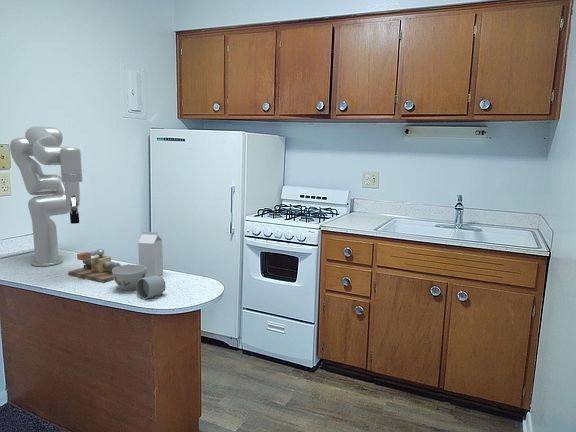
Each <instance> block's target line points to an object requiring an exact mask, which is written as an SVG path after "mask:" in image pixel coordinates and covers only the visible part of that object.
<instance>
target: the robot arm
mask: <svg viewBox="0 0 576 432" xmlns="http://www.w3.org/2000/svg"><path fill="white" fill-rule="evenodd" d="M24 133H25V134H24V137H16V138H14V139H12V140H11V141H10V143H9V151H10V156H11V158H12V160H13V162H14V164H15V165H16V166H17V168H18V169H19V171H20V175H21V176H22V180H23V184H24V186H25V189H26V191H27V193H28V194H29V195H30V196H33V197H31V198H30V199H29V200H28V203H27V204H28V205H27V206H28V210H29V214H30V219H31V226H32V235H33V236H32V237H33V247H34V254H33V253H32V257H33V258H34V260H33V261H31V266H34V267H50V266H56V265H59V264H61V263H62V262H63V258H62V257H59V246H58V245H59V244H58V232H57V231H58V230H57V224H56V223H55V221H54V220H53V219H51V217H53V216H59V215H60V216H62V215H66V214H69V218H70V219H69V220H70V224H72V225H73V224H80V214H79V213H80V212H79V207H80V202H81V201H80V200H81V198H80V197H81V195H80V194H81V191H80V189H81V188H80V183H81V182H83V173H82V172H83V171H82V169H83V168H82V155H81V150H80V148H78V147H72V146H61V145H62V144H63V141H64V139H63V133H62V132H61V130H60V129H59V128H57V127H51V126H32V127H29V128H27V129H26V131H25V132H24ZM32 157H34V159H35V160H34V159H33V158H32ZM40 164H42V165H44V166H60V175H58V174H45V173H43V170H42V166H41V165H40Z"/></svg>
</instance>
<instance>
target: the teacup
mask: <svg viewBox="0 0 576 432" xmlns="http://www.w3.org/2000/svg"><path fill="white" fill-rule="evenodd" d="M120 265H121V264H120ZM112 274H113V278H114V280H113V281H114V282H115V284H116V285H117V286H118V287H119V288H121V289H122V291H133V290H137V289H136V285H137V282H138V280H139V279H141V278H145V275H146V267H144V266H142V265H139V264H122V265H121V266H117V267H115V268H113V270H112Z"/></svg>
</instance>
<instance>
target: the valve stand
mask: <svg viewBox="0 0 576 432" xmlns="http://www.w3.org/2000/svg"><path fill="white" fill-rule="evenodd" d="M82 264H83V267H80V268H75V269H72V270H68V272H67V275H68V276H70V277H76V278H81V279H84V280H89V281H94V282H98V283H102V284H105V283H107V282H108V283H109V282H111V281H115V280H114V278H113V274H112V270H113V268H115V267H117V266H121V264H120V263H118V262H113V261H112V257H111V256H107V255H97V256H94V257H93V256H92V257H91V258H89V259H85V260H82Z"/></svg>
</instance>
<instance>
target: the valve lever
mask: <svg viewBox="0 0 576 432" xmlns="http://www.w3.org/2000/svg"><path fill="white" fill-rule="evenodd" d="M96 255H97V256H99V255H103V256H105V249H101V248H100V249H96V250H95V251H91V252H89V251H84V252H82V253H77V254H76V259H77V261H78V260H79V261H83V260H85V259H89V258H92V257H93V256H94V257H95V256H96Z"/></svg>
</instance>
